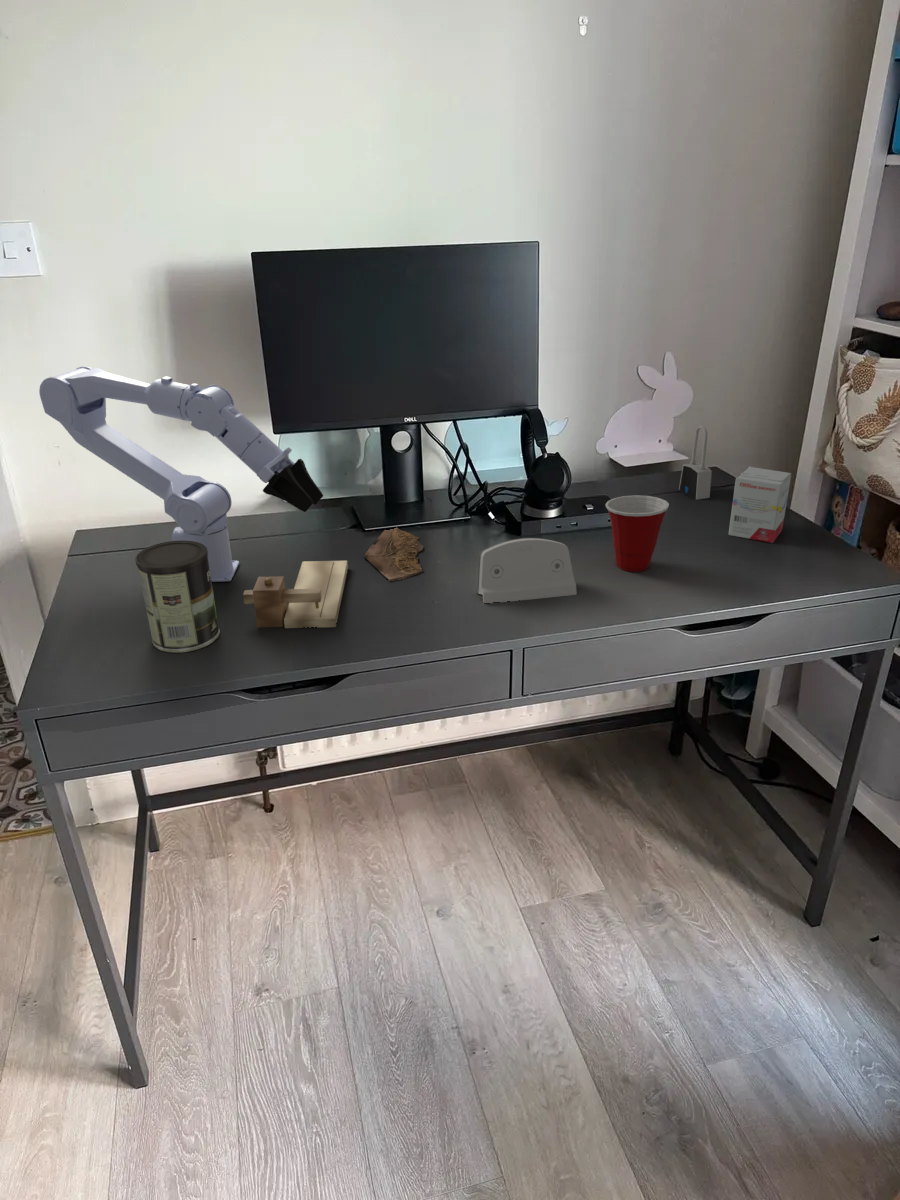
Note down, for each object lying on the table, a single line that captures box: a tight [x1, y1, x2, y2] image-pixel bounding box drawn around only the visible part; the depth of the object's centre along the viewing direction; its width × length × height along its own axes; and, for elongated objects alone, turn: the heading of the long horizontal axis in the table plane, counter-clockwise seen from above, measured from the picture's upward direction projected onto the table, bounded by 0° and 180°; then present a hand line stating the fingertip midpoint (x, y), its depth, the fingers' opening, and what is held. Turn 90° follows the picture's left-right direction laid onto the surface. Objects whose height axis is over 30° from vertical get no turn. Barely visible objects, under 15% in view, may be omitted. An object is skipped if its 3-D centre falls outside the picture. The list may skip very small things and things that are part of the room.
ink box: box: [728, 466, 792, 544], centre depth 165 cm, size 9×9×12 cm
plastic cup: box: [604, 494, 670, 573], centre depth 152 cm, size 11×11×12 cm
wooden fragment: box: [363, 527, 424, 583], centre depth 162 cm, size 26×11×1 cm, turn 1°
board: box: [283, 560, 349, 629], centre depth 145 cm, size 8×22×2 cm, turn 1°
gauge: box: [242, 575, 322, 628], centre depth 137 cm, size 12×5×7 cm, turn 91°
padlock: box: [678, 425, 713, 500], centre depth 184 cm, size 7×4×15 cm, turn 20°
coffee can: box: [134, 540, 221, 654], centre depth 131 cm, size 10×10×14 cm
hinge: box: [476, 537, 577, 604], centre depth 145 cm, size 17×5×10 cm, turn 101°
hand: (314, 503), depth 143 cm, fingers open, 7 cm apart
